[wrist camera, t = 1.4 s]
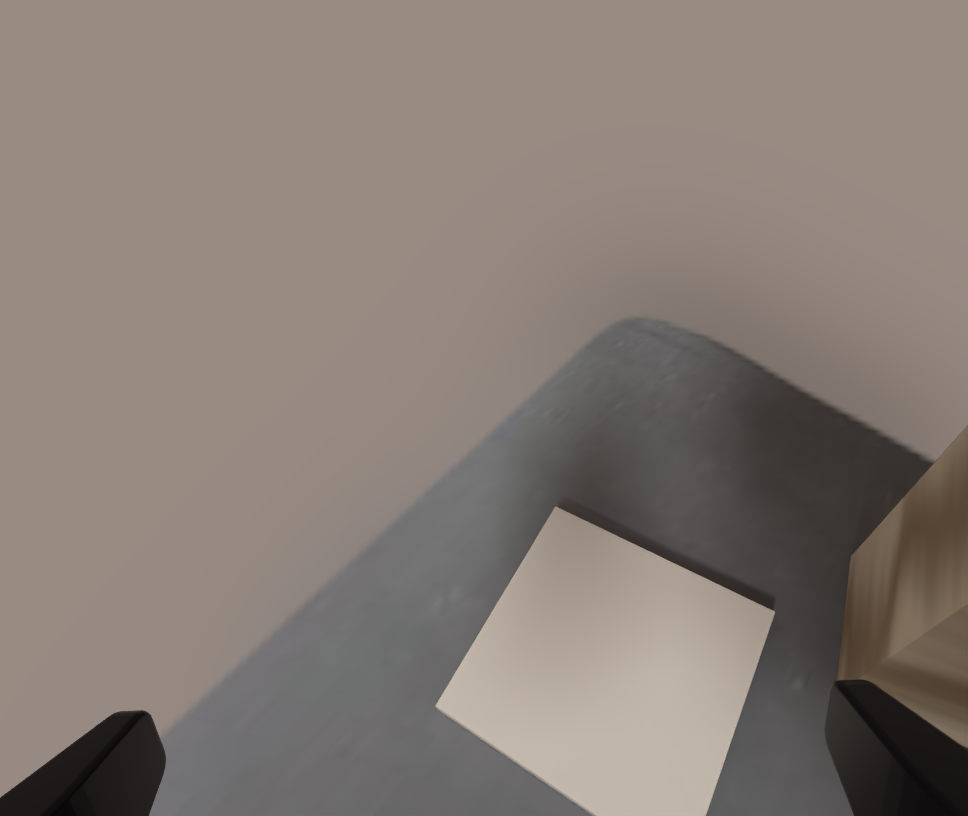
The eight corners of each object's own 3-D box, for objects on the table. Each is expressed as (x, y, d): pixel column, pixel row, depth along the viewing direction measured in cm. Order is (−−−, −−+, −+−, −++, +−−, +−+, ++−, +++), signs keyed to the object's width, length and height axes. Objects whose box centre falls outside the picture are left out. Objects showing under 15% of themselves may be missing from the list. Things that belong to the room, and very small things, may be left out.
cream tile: (770, 617, 23) (775, 611, 22) (681, 876, 18) (685, 875, 18) (555, 512, 26) (555, 506, 26) (437, 710, 22) (435, 706, 21)
